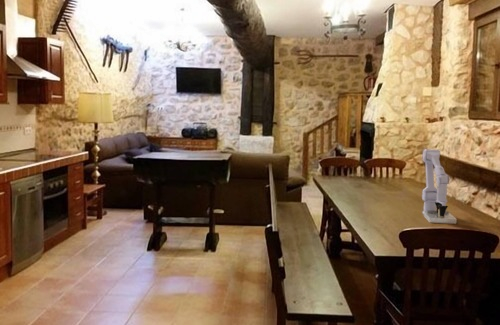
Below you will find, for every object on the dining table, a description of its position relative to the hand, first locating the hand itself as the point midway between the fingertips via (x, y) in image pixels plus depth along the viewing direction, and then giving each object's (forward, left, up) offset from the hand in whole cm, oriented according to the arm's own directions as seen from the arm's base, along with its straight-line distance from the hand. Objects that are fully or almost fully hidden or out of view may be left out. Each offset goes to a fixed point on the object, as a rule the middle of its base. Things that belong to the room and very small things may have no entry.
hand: (440, 214), depth 310 cm
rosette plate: (-2, 0, -4) cm, 4 cm away
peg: (0, 0, -4) cm, 4 cm away
